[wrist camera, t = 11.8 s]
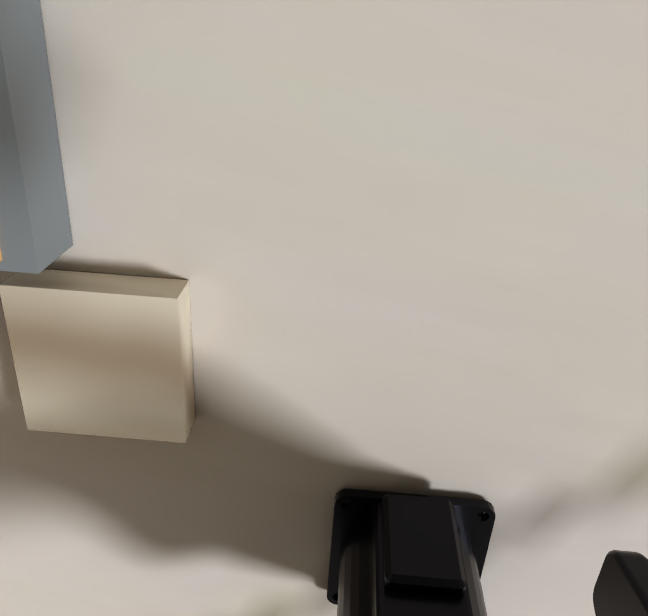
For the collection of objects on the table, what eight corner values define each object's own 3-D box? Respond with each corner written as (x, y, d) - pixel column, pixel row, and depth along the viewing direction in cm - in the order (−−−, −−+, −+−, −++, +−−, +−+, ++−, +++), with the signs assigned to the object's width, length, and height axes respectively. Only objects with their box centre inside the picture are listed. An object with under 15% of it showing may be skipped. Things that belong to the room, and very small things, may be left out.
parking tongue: (195, 418, 24) (185, 443, 23) (45, 406, 25) (27, 429, 23) (189, 280, 22) (177, 298, 20) (20, 267, 22) (-2, 284, 20)
